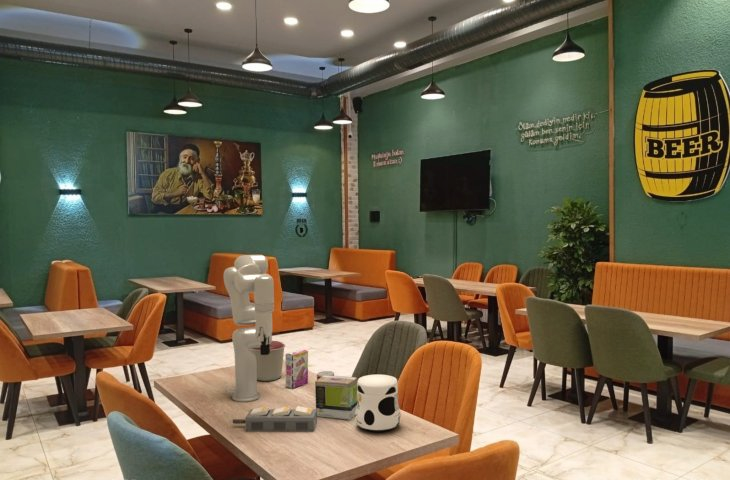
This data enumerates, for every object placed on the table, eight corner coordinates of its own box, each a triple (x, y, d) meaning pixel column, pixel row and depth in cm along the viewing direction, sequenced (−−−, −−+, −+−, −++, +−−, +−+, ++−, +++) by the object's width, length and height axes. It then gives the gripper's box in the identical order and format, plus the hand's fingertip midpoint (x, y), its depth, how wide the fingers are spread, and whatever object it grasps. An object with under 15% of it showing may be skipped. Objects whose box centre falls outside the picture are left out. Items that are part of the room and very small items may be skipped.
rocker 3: (294, 414, 205) (295, 410, 204) (296, 409, 210) (297, 405, 209) (309, 417, 204) (310, 413, 204) (311, 413, 209) (312, 408, 209)
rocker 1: (251, 417, 205) (250, 413, 205) (254, 413, 210) (253, 408, 210) (266, 414, 205) (265, 410, 205) (269, 409, 210) (268, 405, 210)
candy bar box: (293, 389, 254) (292, 354, 254) (285, 387, 257) (284, 353, 256) (308, 383, 263) (308, 350, 263) (301, 381, 266) (300, 348, 266)
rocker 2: (273, 417, 205) (272, 413, 205) (275, 413, 210) (274, 408, 210) (288, 414, 205) (287, 410, 205) (290, 409, 210) (289, 405, 210)
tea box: (358, 412, 222) (358, 376, 222) (349, 420, 213) (349, 383, 212) (325, 408, 227) (324, 373, 227) (315, 416, 218) (314, 380, 217)
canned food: (335, 394, 245) (335, 370, 245) (333, 400, 237) (332, 376, 237) (319, 394, 246) (318, 370, 245) (315, 400, 238) (315, 375, 237)
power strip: (229, 431, 204) (229, 417, 204) (236, 422, 213) (236, 409, 213) (313, 431, 202) (313, 417, 202) (317, 422, 211) (316, 409, 211)
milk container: (349, 422, 211) (348, 376, 211) (389, 415, 218) (388, 371, 217) (365, 438, 195) (364, 389, 195) (408, 430, 202) (407, 383, 201)
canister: (292, 375, 277) (292, 334, 277) (272, 385, 261) (272, 342, 260) (263, 371, 285) (262, 332, 284) (242, 381, 268) (241, 339, 268)
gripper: (259, 304, 219) (260, 349, 219) (249, 310, 203) (250, 359, 204) (277, 304, 218) (278, 349, 219) (269, 310, 203) (270, 359, 204)
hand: (265, 354), depth 211 cm, fingers closed
